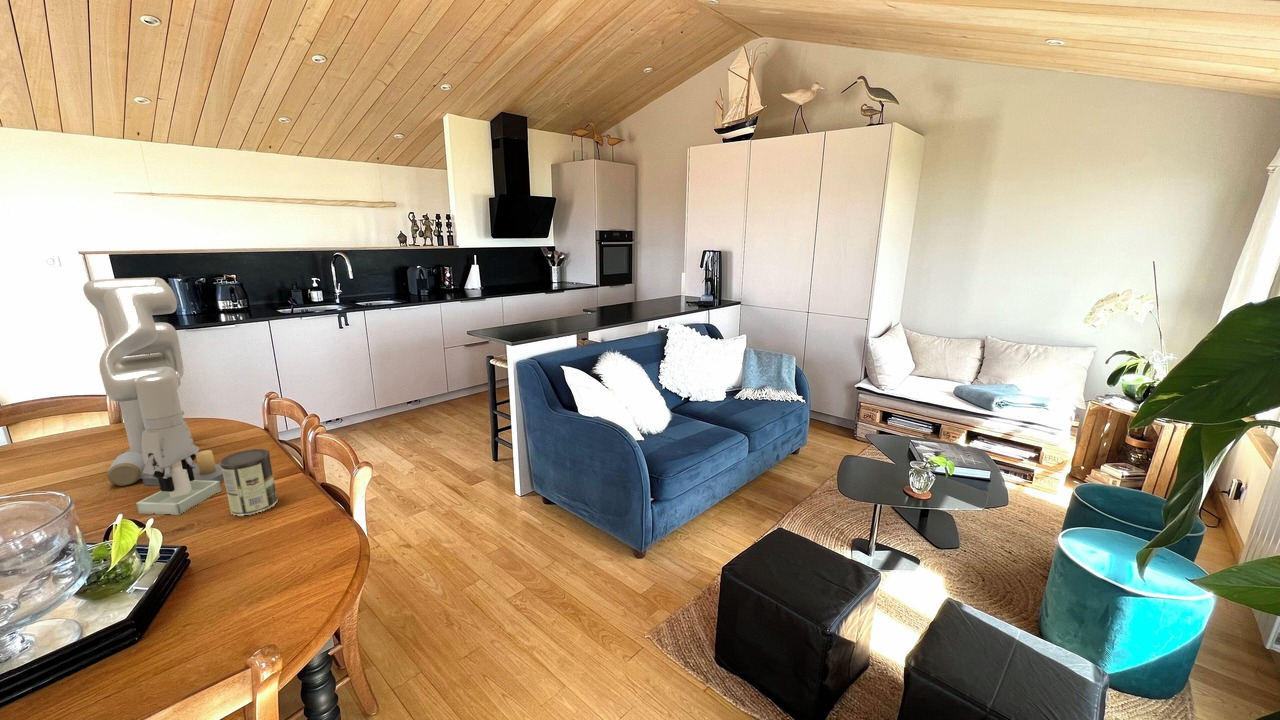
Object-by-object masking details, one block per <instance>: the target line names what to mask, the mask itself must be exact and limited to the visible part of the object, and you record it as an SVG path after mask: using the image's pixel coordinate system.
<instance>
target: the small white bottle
mask: <svg viewBox="0 0 1280 720" xmlns="http://www.w3.org/2000/svg"><path fill="white" fill-rule="evenodd" d="M169 477H172V480H173V485H174V491H172V492H169V495H170V497H171V498H174V497H178V496H183V495H187V494H189V492H190V491H191V484H190V480H189V476H188V473H187V469H183V468H182V463H181V461H179V462H177V463H175V464H172V465H170V469H169Z"/></svg>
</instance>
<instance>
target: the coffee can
mask: <svg viewBox="0 0 1280 720" xmlns="http://www.w3.org/2000/svg"><path fill="white" fill-rule="evenodd" d="M270 455H271V454H270V451H269V450H267V449H264V448H256V449H255V448H254V449H246V450H242V451H238V452H234V453H231V454H229V455H227V456H225V457H223V458H222V459H220V461H219V464H220V466H221V468H222V473H223V477H224V482H223V483H224V485H225V491H226V495H227V501H228V505H229V510H230V511H229V512H231V513H230V514H231V515H232V514H233V515H232V516H235V515H237V516H236V517H245V516H244V515H249V516H253V515H256V514H255V513H257V514H259V513H258V512H261V513H263V512H265V510H266V511H268V510H270V509H271V507H272V508H273V507H274V506H276V505H277V504H278V500H279V498H278V496H277V495H278V494H277V490H276V486H275V479H274V473H273V468H272V463H271V457H270ZM276 503H277V504H276ZM275 504H276V505H275ZM267 509H268V510H267ZM262 511H263V512H262ZM252 514H253V515H252Z"/></svg>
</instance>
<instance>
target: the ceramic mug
mask: <svg viewBox="0 0 1280 720" xmlns="http://www.w3.org/2000/svg"><path fill="white" fill-rule="evenodd" d="M144 468H145V463H144V459H143V454H140V453H137V452H127V453H125V452H124V453H121V454H119V455H118V456H117V457H115V459H114V460H113V462H112V463H111V465H110V467H109V468H108V470H107V472H106V473H107V474H106V475H107V476H106V477H107V479H108V481H109V482H110V483H111V484H113V485H116V486H121V487H122V486H123V487H124V486H130V485H133V484H135V483H137V482H138V481H139V480H140V479H142V478H143V477H145V476H148V475H147V474H144V473H143V470H144ZM154 470H155V466H154Z"/></svg>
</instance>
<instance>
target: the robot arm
mask: <svg viewBox="0 0 1280 720" xmlns="http://www.w3.org/2000/svg"><path fill="white" fill-rule="evenodd" d="M83 293H84V296H85V297H86V299H87V301H89V303H90V304H91V305H92V306H93V307H94V308H95V309H96V310H97V312H99V314H100V315H101V319H102V321H103V322H102V323H103V327H104V331H105V336H106V341H107V344H108V345H107V346H106V348H105V350H103V353H102V354H101V356H100V359H99V372H100V376H101V379H102V382H103V383H102V384H103V387H104V390H105V392H106V395H107V397H108V398H109V399H110V400H112V401H114V402H117V403H119V408H120V411H121V416H122V419H123V423H124V424H123V425H124V428H125V432H126V436H127V441H128V444H129V447H130V448H128V449H127V450H126V451H124V453H127V452H137V453H140V454H143V459H144V463H145V468H144V470H143V473H144V474H147V475H151V476H153V477H155V478H158V480H159V485H160V486H159V487H160V488H159V489H160V491H165V492H172V491H174V485H173V480H172V477H169V469H170V465H172V464H175V463H177V462H179V461H181V463H182V468H183V469H187V473H188V476H189V480H190V481H193V480H194V474H193V470H192V466H193V465H194V463H195V462H194V461H195V459H196V458H197V457H196V454H197V453H198V452H200V447H198V446H197V445H195V443H194V439H193V437H192V433H191V430H190V428H189V426H188V424H187V422H186V421H185V420H184V417H183V416H184V415H185V412H184V410H182V408H181V407H182V406H181V403H180V398H179V393H178V389H179V387H180V386H181V378H182V377H184V362H183V357H182V352H181V347H180V346H181V345H180V340H179V336H178V333H177V330H176V328H175V327H174V326H173V325H172V324H170V323H168V322H160V321H159V322H155V320H154V317H153V316H157V315H158V316H159V315H168V314H173V313H175V312H176V311H177V308H178V301H177V298H176V295H175V292H174V291H173V289H172V287H171V286H170V285H169V284H168V283H167V282H166V281H165V280H164V278H160V277H153V276H152V277H131V278H130V277H129V278H125V277H124V278H104V279H102V278H101V279H93V280H89V281H87V282H84V285H83ZM154 466H155V470H154ZM161 469H163V473H162V472H161Z"/></svg>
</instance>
